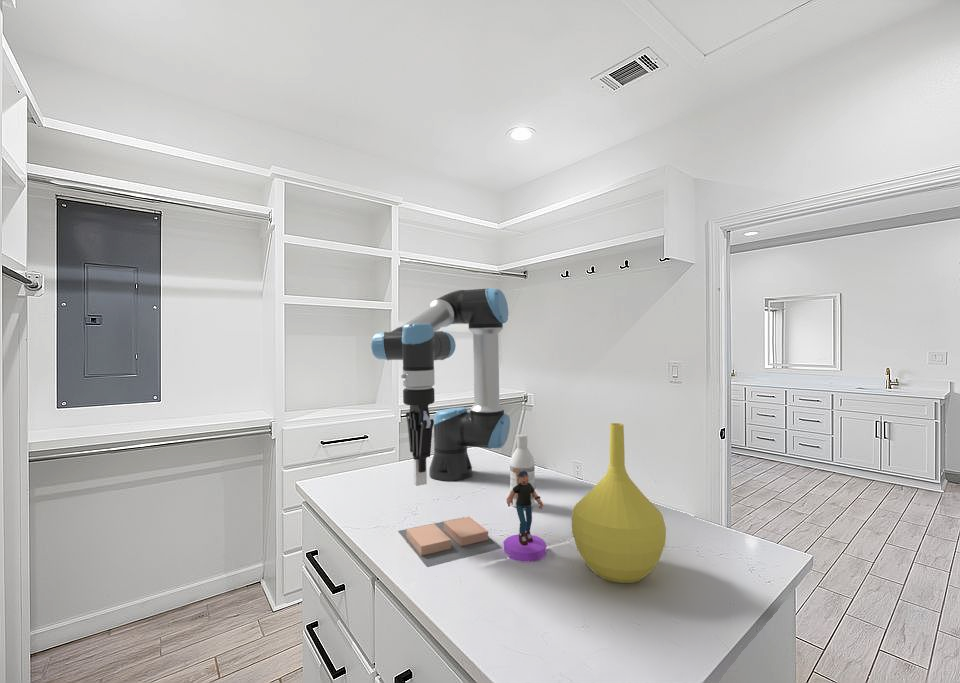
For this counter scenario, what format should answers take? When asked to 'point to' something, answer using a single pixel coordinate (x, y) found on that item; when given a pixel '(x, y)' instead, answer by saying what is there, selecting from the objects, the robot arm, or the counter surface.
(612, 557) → the vase
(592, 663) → the counter surface
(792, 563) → the counter surface
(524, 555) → the figurine
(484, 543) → the mat
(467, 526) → the tile
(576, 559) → the counter surface
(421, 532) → the tile
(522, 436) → the bath foam
